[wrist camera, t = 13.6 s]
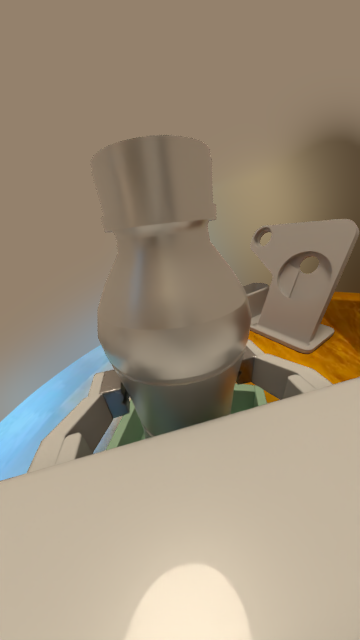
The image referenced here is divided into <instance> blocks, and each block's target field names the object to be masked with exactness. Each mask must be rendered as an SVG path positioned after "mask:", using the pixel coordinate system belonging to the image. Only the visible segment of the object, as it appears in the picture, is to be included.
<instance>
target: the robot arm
mask: <svg viewBox="0 0 360 640" xmlns="http://www.w3.org/2000/svg"><path fill="white" fill-rule="evenodd" d="M236 382H237V384H238V385H240V384H244V383H248V382H252V383H254V384H255V385H257V386H259V387H260V388H262V389H264V390H265V391H267V392H269V393H270V394H272V395H274V396H275V397H277V398H279V399H280V400H278V401H275V402H271V403H268V404H265V405H261V406H258V407H254V408H251V409H247V410H244V411H240V412H237V413H233V414H230V415H227V416H223V417H220V418H216V419H213V420H209V421H206V422H202V423H199V424H195V425H192V426H189V427H185V428H182V429H178V430H175V431H171V432H168V433H164V434H161V435H157V436H154V437H150V438H147V439H144V440H140V441H137V442H133V443H130V444H126V445H123V446H119V447H116V448H112V449H109V450H106V451H102V452H99V453H95V454H93V452H94V450H95V448H96V447H97V445H98V443H99V442H100V440H101V438H102V437H103V435H104V434H105V432H106V430H107V429H108V427H109V425H110V424H111V422H112V420H113V418H116V417H119V416H123V415H126V414H130V401H129V397H130V395H129V394H128V392H127V390H126V389H125V387H124V385H123V383H122V382H121V380H120V378H119V376H118V375H117V373H116V371H115V370H110V371H105V372H101V373H96V374H95V375H94V378H93V381H92V384H91V388H90V391H89V394H88V397H87V398H84V399H83V400H82V401H81V402H80V403H79V404H78V405H77V406H76V407H75V408H74V409H73V410H72V411H71V412H70V413H69V414H68V415H67V416H66V417H65V418H64V419H63V420H62V421H61V422H60V423H59V424H58V425H57V426H56V427H55V428H54V429H53V430H52V431H51V432H50V433H49V434H48V435H47V436H46V437H45V438H44V439H43V440H42V441H41V443H40V445H39V448H38V450H37V452H36V454H35V456H34V458H33V461H32V463H31V465H30V467H29V469H28V471H27V473H26V474H23V475H19V476H16V477H12V478H9V479H5V480H2V481H0V640H360V377H358V378H354V379H351V380H348V381H344V382H341V383H337V384H334V385H333V384H332V383H331V382H329V381H328V380H327V379H325V378H324V377H323V376H322V375H320V374H319V373H318V372H316V371H315V370H314V369H311V368H308V367H306V366H303V365H300V364H297V363H294V362H291V361H288V360H285V359H282V358H279V357H276V356H273V355H270V354H265V353H264V352H262V351H261V350H260V349H259V348H258V347H257V346H256V345H255V344H254V343H253V342H252V341H250V340H248V342H247V344H246V348H245V352H244V355H243V359H242V362H241V366H240V369H239V373H238V376H237V380H236Z"/></svg>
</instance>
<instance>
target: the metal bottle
mask: <svg viewBox="0 0 360 640" xmlns="http://www.w3.org/2000/svg"><path fill="white" fill-rule="evenodd" d="M91 167H92V176H93V179H94V182H95V186H96V190H97V194H98V197H99V201H100V204H101V208H102V212H103V215H104V216H102V217H101V220H102V224H103V227H104V231H105V232H113V233H114V234H115V236H116V239H117V249H118V254H117V256H116V259H115V261H114V263H113V266H112V269H111V271H110V273H109V276H108V278H107V280H106V283H105V286H104V289H103V293H102V296H101V300H100V303H99V307H98V338H99V341H100V343H101V345H102V347H103V349H104V352H105V354H106V356H107V358H108V359H109V361H110V363H111V364H112V366H113V368H114V369H115V371H116V373H117V375H118V376H119V378H120V380H121V382H122V383H123V385H124V387H125V389H126V390H127V392H128V394H129V395H130V397H131V399H132V402H133V404H134V407H135V409H136V412H137V414H138V417H139V418H140V421H141V424H142V426H143V429H144V435H145V439H147V438H150V437H154V436H157V435H161V434H164V433H168V432H171V431H175V430H178V429H182V428H185V427H189V426H192V425H195V424H199V423H202V422H206V421H209V420H213V419H216V418H220V417H223V416H227V415H230V414H231V406H232V400H233V392H234V387H235V383H236V380H237V376H238V373H239V369H240V366H241V362H242V359H243V355H244V352H245V348H246V344H247V342H248V336H249V330H250V325H251V319H252V315H251V310H250V306H249V302H248V298H247V294H246V292H245V290H244V288H243V286H242V285H241V283H240V282H239V280H238V278H237V277H236V275H235V274H234V272H233V270H232V269H231V267H230V266H229V265H228V264H227V262H226V261H225V260H224V259H223V257H222V256H221V255H220V254H219V252H218V251H217V250H216V248H215V247H214V246H213V245H212V243H211V242H210V239H209V234H208V222H209V221H212V220H216V204H213V194H212V193H213V192H212V159H211V157H210V149H209V147H208V146H207V145H206V144H204V143H203V142H201V141H199V140H196V139H193V138H188V137H182V136H169V135H163V136H162V135H160V136H146V137H138V138H133V139H129V140H124V141H120V142H118V143H115V144H112V145H109V146H107V147H105V148H104V149H102V150H100V151H98V152H97V153H96V154H95V155H94V156H93V157H92V159H91Z"/></svg>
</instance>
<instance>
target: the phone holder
mask: <svg viewBox="0 0 360 640" xmlns="http://www.w3.org/2000/svg"><path fill="white" fill-rule="evenodd" d="M267 232H271V233H272V236H271V239H270V241H269V242H268V243H267V244H266V245H265V246H261V245H260V239H261V237H262V236H263V235H264V234H265V233H267ZM358 236H359V229H358V227H357V226H356V224H355V223H354V222H353V221H351V220H349V219H337V220H325V221H313V222H302V223H291V224H279V225H268V226H262V227H260V228H259V229H258V230H257V231H256V232H255V233H254V235H253V238H252V241H251V249H252V250H253V252H254V253H255V254H256V255H257V256H258V258H259V259H260V260H261V261H262V262H263V264H264V265H265V266H266V267H267V268H268V269H269V271H270V272H271V273H272V276H273V279H272V283H271V286H270V288H269V286H268V285H267V284H264V283H252V284H249V285H246V286H243V288H244V290H245V292H246V294H247V298H248V302H249V306H250V310H251V315H252V319H251V325H250V330H251V331H253V332H255V333H258V334H260V335H262V336H264V337H266V338H269V339H271V340H273V341H275V342H278V343H280V344H282V345H284V346H287V347H289V348H291V349H293V350H296V351H298V352H301V353H312V352H313V351H314V350H316V349H317V348H318V347H319V346H320V345H322V344H323V343H324V342H325V341H326V340H328V339H329V338H330V337H331V336H332V335H333V333H334V329H333V328H331V327H329V326H325V325H322V324H320V323H321V321H322V318H323V316H324V314H325V312H326V309H327V307H328V305H329V302H330V300H331V298H332V296H333V293H334V291H335V289H336V286H337V284H338V282H339V280H340V277H341V275H342V273H343V270H344V268H345V266H346V264H347V261H348V259H349V257H350V255H351V252H352V250H353V248H354V245H355V243H356V241H357V238H358ZM311 256H313V257H317V258H318V260H319V266H318V268H317V269H316V270H315V271H314V272H313V273H310V274H304V273H302V272H301V271H300V264H301V262H302V261H303V260H304V259H306V258H307V257H311Z"/></svg>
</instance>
